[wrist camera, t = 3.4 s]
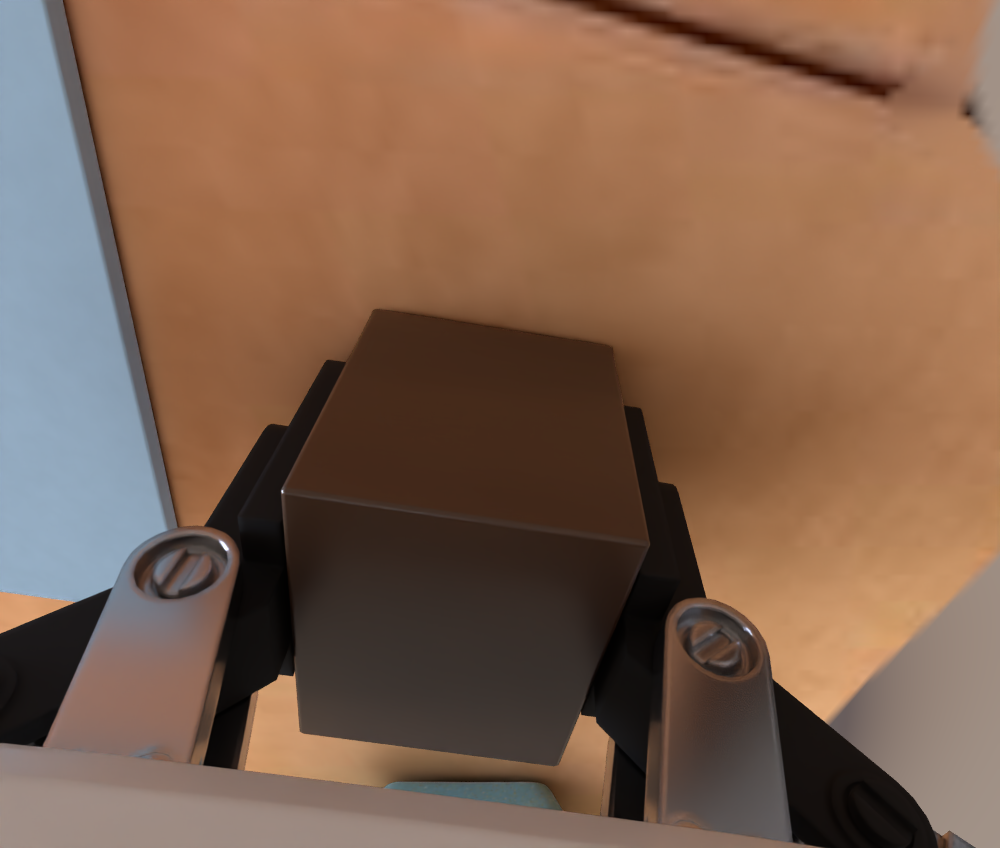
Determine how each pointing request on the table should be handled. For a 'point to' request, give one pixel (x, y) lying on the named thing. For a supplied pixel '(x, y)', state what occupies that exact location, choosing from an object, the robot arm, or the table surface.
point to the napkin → (64, 337)
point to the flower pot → (488, 792)
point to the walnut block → (461, 539)
